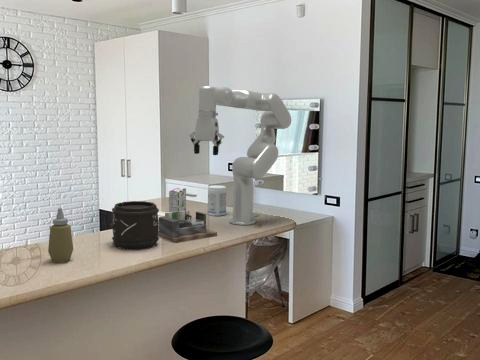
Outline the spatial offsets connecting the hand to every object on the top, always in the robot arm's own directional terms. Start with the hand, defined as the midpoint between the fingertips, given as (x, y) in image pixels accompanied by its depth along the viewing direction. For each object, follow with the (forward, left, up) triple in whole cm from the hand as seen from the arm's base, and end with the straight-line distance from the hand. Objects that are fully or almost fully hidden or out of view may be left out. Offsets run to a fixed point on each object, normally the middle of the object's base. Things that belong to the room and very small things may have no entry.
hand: (206, 154), depth 207 cm
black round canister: (+38, +6, -34) cm, 51 cm away
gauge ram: (+8, +3, -32) cm, 33 cm away
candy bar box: (+5, -15, -34) cm, 38 cm away
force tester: (+13, +5, -34) cm, 36 cm away
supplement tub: (-24, -23, -34) cm, 48 cm away
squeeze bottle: (+68, +11, -34) cm, 76 cm away
